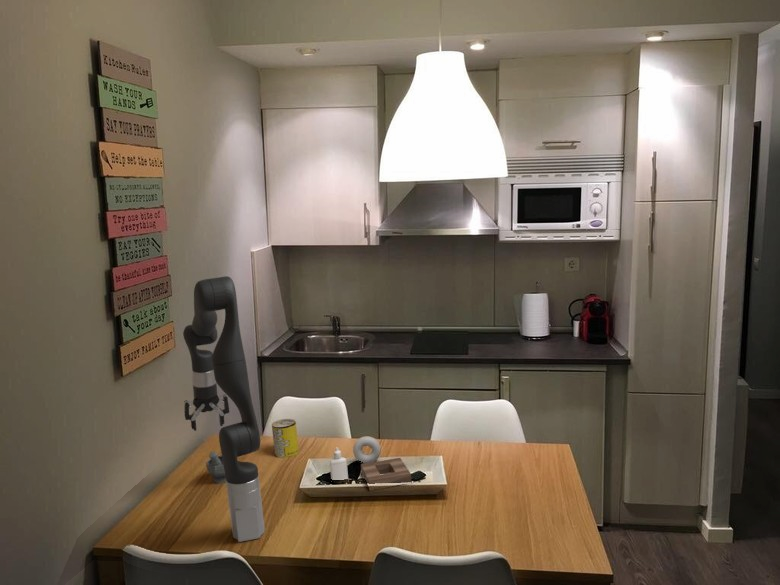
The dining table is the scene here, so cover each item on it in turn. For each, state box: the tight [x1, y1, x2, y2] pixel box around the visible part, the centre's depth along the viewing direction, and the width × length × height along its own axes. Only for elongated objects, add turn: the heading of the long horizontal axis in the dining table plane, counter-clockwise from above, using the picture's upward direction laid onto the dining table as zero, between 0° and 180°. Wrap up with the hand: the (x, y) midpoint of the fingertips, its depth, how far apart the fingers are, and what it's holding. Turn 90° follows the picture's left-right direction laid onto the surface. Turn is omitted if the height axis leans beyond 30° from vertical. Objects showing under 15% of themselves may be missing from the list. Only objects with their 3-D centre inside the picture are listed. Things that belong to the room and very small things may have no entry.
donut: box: [352, 436, 382, 464], centre depth 239 cm, size 10×4×10 cm, turn 89°
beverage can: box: [271, 418, 300, 459], centre depth 254 cm, size 9×9×12 cm
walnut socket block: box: [360, 457, 412, 484], centre depth 226 cm, size 14×14×4 cm
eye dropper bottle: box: [329, 446, 349, 480], centre depth 226 cm, size 4×6×12 cm
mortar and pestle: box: [205, 450, 226, 484], centre depth 235 cm, size 11×9×12 cm
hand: (208, 427), depth 225 cm, fingers open, 8 cm apart
